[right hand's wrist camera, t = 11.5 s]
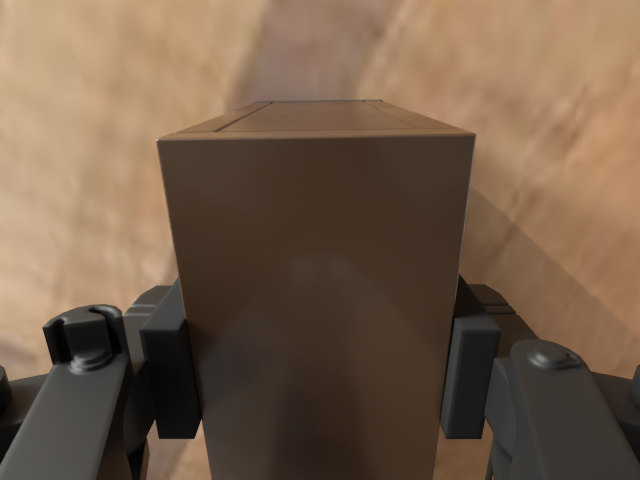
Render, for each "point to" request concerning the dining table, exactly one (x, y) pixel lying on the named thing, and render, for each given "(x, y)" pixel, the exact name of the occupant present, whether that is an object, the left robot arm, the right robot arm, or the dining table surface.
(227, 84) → the dining table surface
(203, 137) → the cabinet
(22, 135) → the dining table surface
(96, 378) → the right robot arm
